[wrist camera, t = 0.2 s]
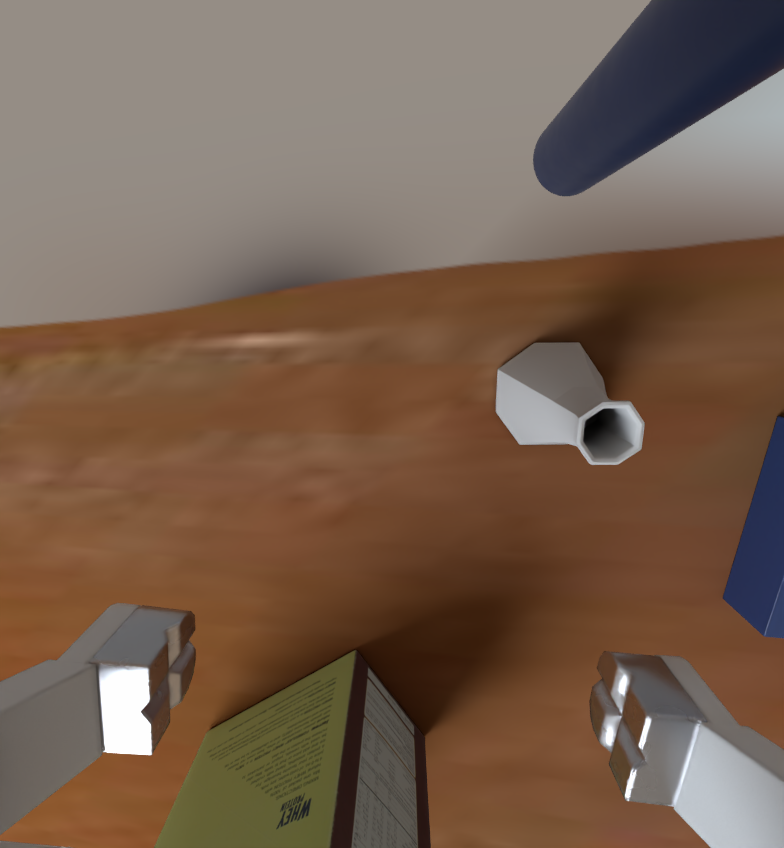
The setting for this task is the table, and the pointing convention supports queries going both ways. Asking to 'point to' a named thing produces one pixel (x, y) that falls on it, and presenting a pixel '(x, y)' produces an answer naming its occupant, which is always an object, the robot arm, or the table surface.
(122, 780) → the table surface
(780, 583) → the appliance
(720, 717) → the robot arm
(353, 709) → the protein box
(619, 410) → the flask
